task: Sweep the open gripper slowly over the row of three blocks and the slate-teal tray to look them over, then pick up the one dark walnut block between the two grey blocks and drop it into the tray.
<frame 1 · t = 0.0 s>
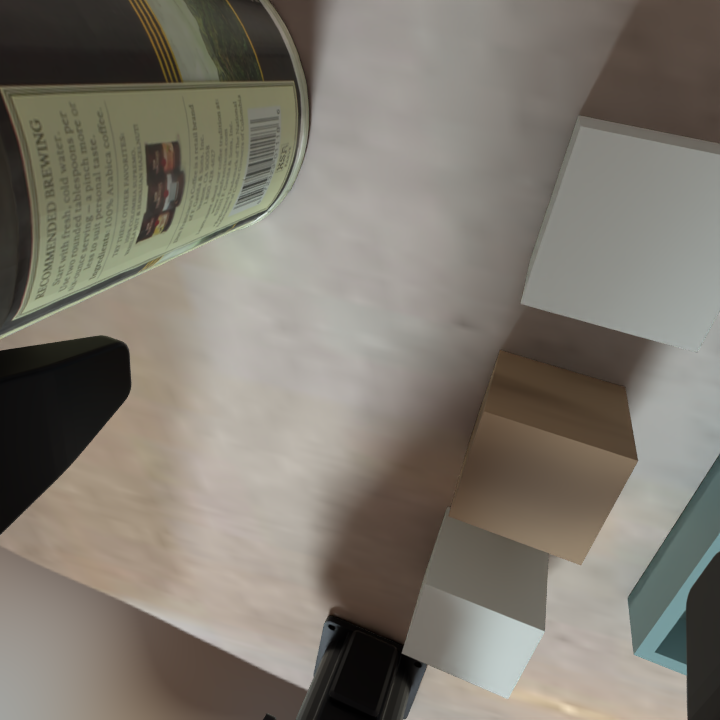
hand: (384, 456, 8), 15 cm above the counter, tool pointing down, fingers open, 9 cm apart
walnut block: (541, 416, 23), on the counter
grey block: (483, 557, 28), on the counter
coffee can: (197, 108, 22), on the counter
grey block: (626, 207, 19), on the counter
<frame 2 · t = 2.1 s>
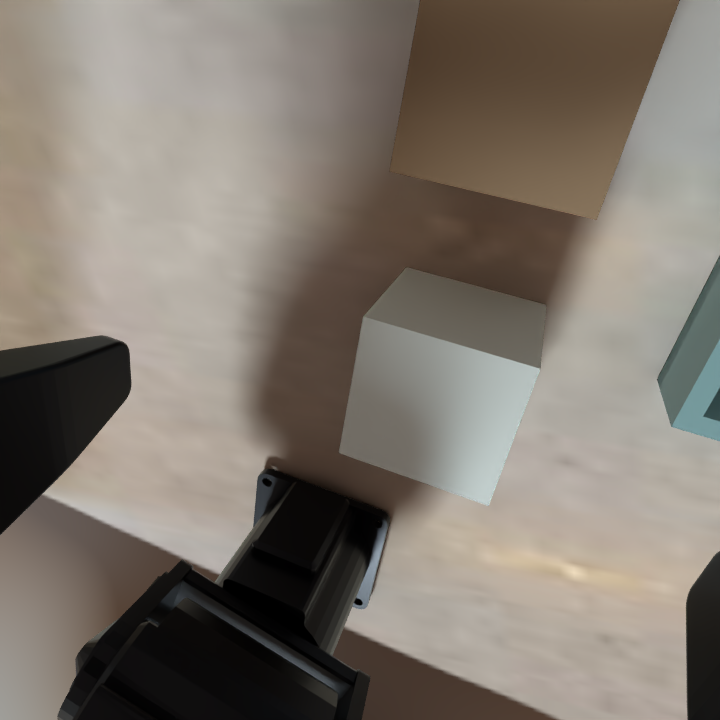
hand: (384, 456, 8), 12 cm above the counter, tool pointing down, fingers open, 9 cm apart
walnut block: (533, 79, 16), on the counter
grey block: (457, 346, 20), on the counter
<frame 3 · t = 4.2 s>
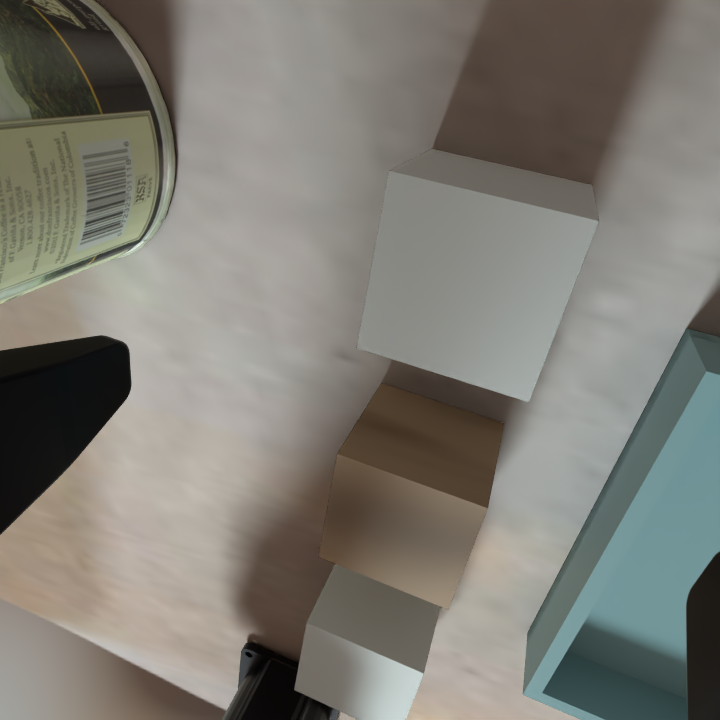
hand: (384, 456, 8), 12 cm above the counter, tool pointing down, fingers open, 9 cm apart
walnut block: (427, 450, 23), on the counter
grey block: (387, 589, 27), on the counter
coffee can: (70, 134, 22), on the counter
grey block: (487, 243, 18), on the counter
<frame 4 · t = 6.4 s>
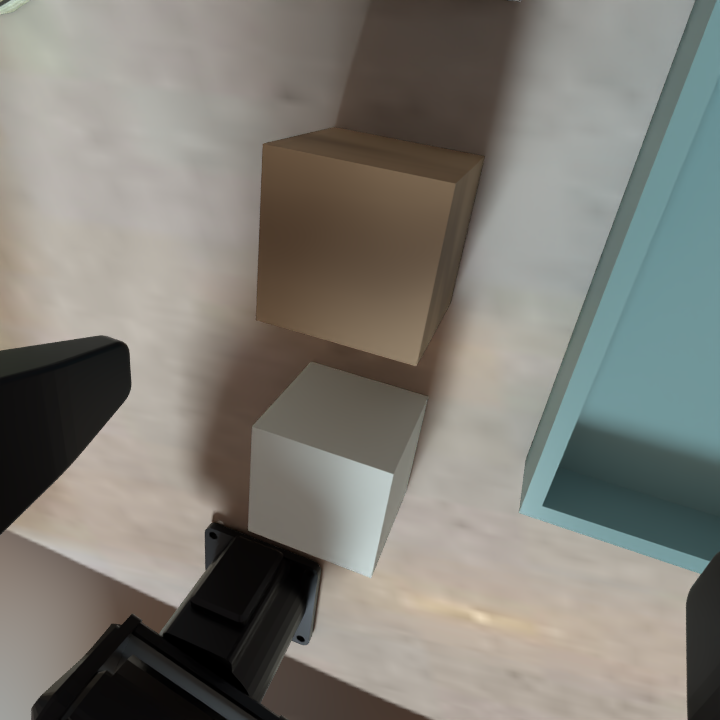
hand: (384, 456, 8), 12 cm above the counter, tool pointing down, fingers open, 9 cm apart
walnut block: (395, 218, 19), on the counter
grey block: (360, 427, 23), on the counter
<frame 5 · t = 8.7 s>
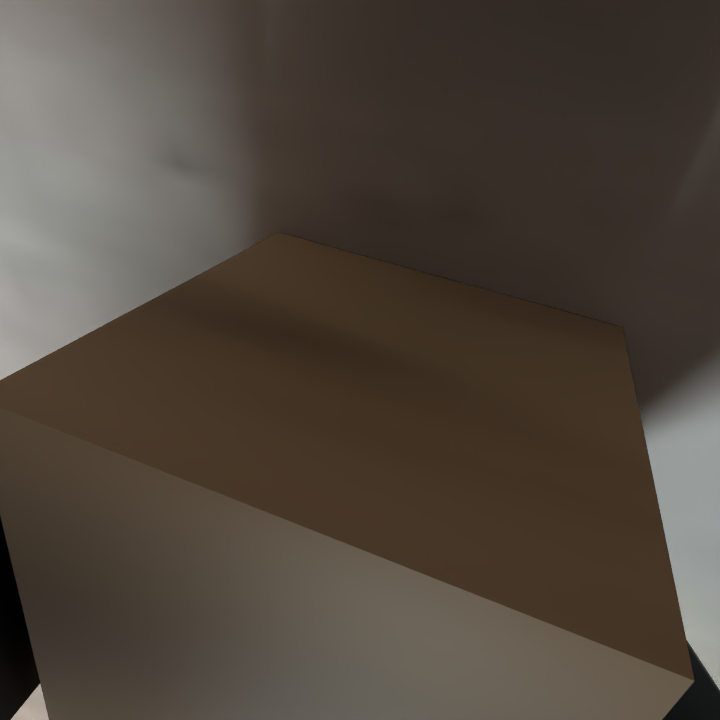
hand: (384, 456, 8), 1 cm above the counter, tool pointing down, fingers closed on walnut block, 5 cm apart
walnut block: (403, 418, 9), on the counter, touching gripper
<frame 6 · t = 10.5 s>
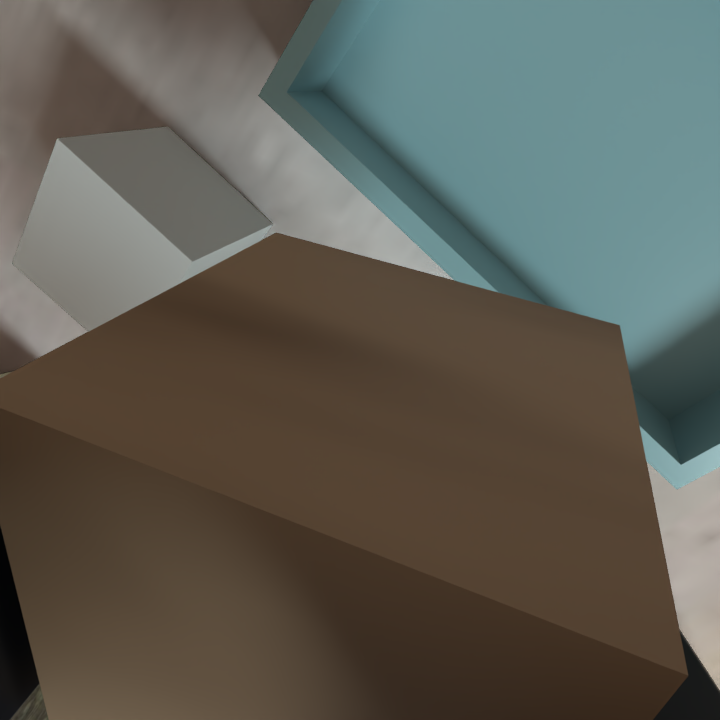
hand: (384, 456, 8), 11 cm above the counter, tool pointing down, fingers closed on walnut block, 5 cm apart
tabletop clock: (61, 618, 38), on the counter
tray: (612, 147, 15), on the counter
walnut block: (402, 417, 9), point 10 cm above the counter, touching gripper
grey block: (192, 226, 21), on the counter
when the fingers open (3 cm above the counter, at t = 12.7 s): walnut block drops 1 cm, resting on tray.
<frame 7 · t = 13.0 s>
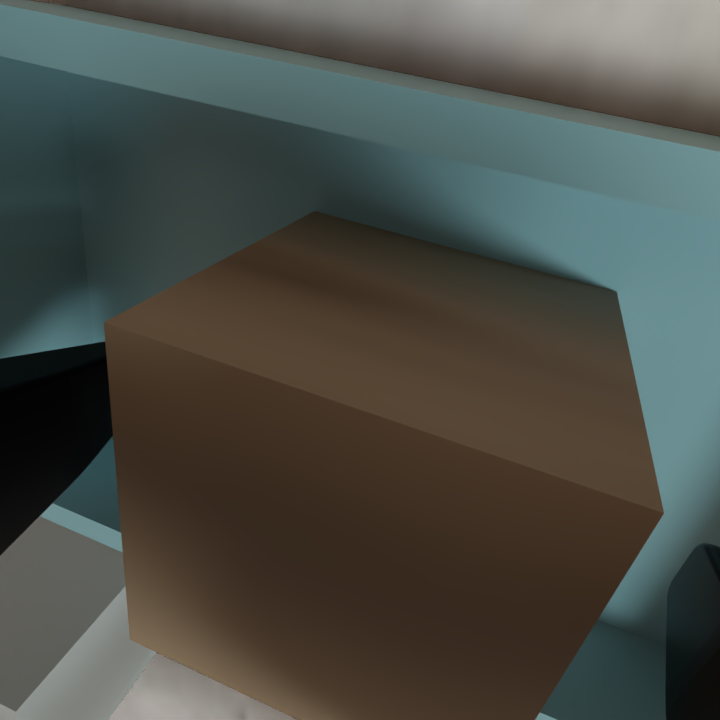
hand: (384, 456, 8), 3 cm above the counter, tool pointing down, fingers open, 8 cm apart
tray: (428, 364, 11), on the counter
walnut block: (422, 378, 10), point 1 cm above the counter, touching tray
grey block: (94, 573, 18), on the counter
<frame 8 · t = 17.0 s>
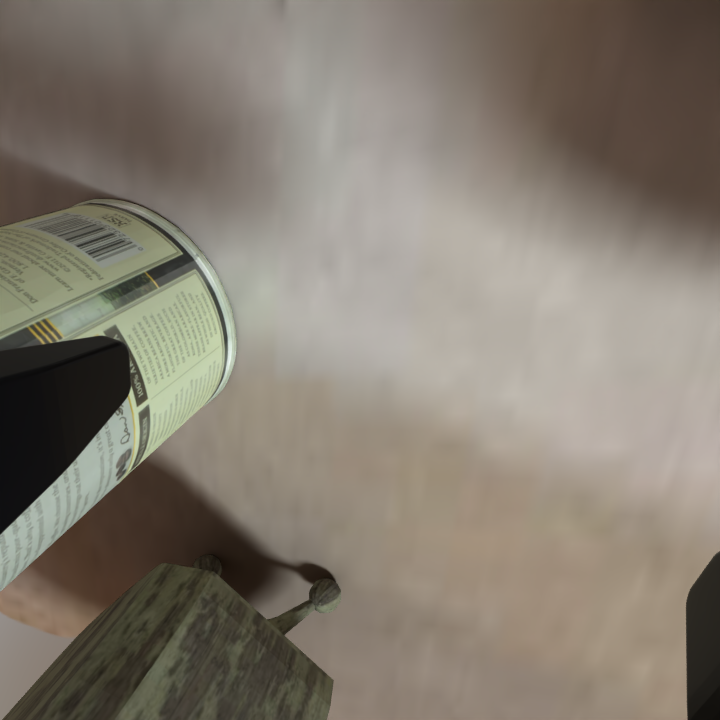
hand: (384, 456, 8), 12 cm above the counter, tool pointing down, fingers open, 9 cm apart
tabletop clock: (242, 579, 31), on the counter
coffee can: (141, 313, 25), on the counter
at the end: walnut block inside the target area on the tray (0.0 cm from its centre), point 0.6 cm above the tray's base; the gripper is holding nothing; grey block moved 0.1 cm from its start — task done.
